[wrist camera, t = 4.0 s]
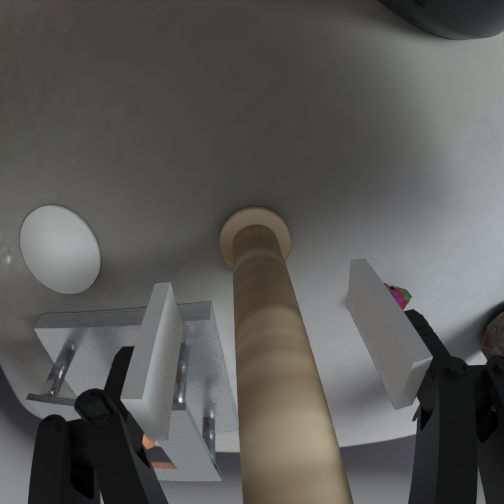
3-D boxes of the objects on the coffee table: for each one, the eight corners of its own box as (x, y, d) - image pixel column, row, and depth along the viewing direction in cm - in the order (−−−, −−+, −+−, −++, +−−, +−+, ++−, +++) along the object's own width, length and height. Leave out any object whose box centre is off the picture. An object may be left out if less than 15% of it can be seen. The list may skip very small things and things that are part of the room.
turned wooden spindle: (214, 210, 19) (192, 528, 4) (286, 202, 19) (413, 492, 4) (224, 272, 21) (228, 550, 6) (289, 264, 21) (368, 529, 6)
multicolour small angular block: (357, 307, 24) (367, 325, 22) (374, 278, 23) (387, 295, 21) (395, 315, 25) (406, 333, 23) (412, 289, 24) (425, 306, 22)
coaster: (11, 214, 18) (8, 216, 18) (84, 196, 18) (82, 198, 18) (42, 293, 21) (39, 296, 21) (113, 287, 21) (111, 290, 21)
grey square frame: (43, 313, 22) (1, 383, 15) (211, 301, 22) (206, 393, 15) (106, 416, 29) (92, 476, 22) (238, 415, 29) (241, 484, 22)
